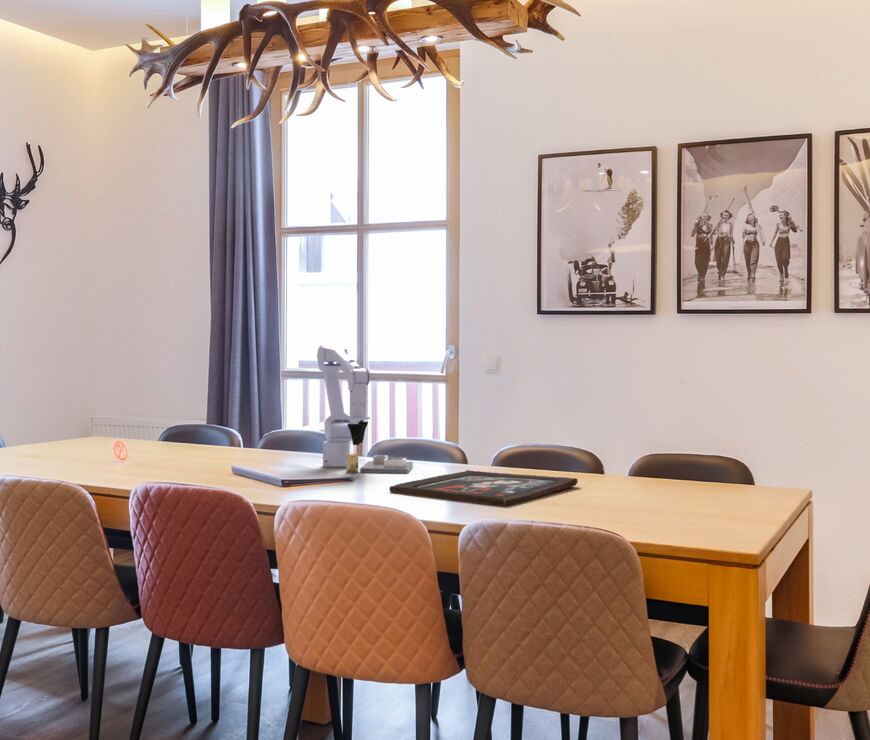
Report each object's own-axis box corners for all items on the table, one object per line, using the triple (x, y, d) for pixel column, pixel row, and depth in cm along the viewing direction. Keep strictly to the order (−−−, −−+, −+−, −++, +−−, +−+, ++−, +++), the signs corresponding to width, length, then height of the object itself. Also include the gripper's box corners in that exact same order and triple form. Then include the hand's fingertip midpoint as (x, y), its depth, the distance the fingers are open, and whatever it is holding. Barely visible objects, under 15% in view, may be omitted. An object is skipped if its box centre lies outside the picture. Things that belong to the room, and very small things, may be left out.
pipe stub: (345, 472, 294) (345, 454, 294) (347, 471, 298) (347, 453, 298) (357, 472, 294) (357, 455, 293) (359, 471, 298) (359, 453, 297)
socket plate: (360, 472, 293) (360, 460, 293) (368, 465, 313) (368, 454, 313) (407, 473, 292) (407, 461, 292) (412, 466, 312) (412, 454, 312)
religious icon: (580, 486, 266) (580, 476, 266) (508, 509, 229) (508, 498, 229) (469, 477, 289) (469, 467, 289) (386, 496, 252) (386, 485, 252)
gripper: (367, 405, 289) (366, 446, 289) (372, 402, 303) (372, 441, 304) (345, 405, 289) (345, 445, 289) (352, 402, 304) (352, 441, 304)
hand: (357, 443), depth 297 cm, fingers open, 7 cm apart
